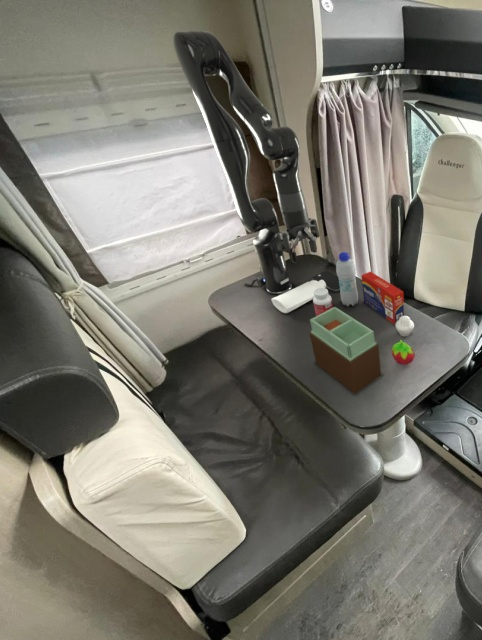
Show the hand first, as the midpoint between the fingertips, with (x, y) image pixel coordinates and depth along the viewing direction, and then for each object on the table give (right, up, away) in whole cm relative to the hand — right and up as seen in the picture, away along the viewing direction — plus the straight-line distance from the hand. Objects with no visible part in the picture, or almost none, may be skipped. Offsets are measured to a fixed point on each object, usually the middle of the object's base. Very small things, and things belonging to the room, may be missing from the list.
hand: (304, 257), depth 118 cm
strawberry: (+32, -35, -8) cm, 49 cm away
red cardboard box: (+25, -16, +12) cm, 32 cm away
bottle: (+12, -13, +16) cm, 24 cm away
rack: (+16, -36, -10) cm, 41 cm away
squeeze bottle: (-6, -11, +18) cm, 22 cm away
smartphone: (+2, -3, +27) cm, 27 cm away
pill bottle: (+5, -19, +9) cm, 22 cm away
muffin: (+33, -25, +3) cm, 41 cm away
